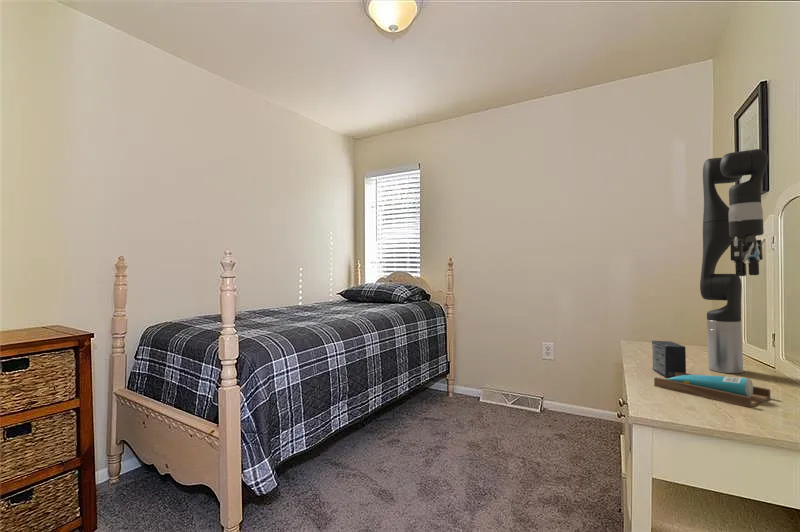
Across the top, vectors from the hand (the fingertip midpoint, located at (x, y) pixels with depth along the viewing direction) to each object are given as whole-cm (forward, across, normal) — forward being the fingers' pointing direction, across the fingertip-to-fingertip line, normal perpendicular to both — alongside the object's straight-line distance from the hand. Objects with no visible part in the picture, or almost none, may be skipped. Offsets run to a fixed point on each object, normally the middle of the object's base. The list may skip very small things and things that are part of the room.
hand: (747, 275), depth 114 cm
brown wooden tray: (+33, +11, -6) cm, 35 cm away
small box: (+33, 0, -22) cm, 40 cm away
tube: (+30, +10, +4) cm, 32 cm away
